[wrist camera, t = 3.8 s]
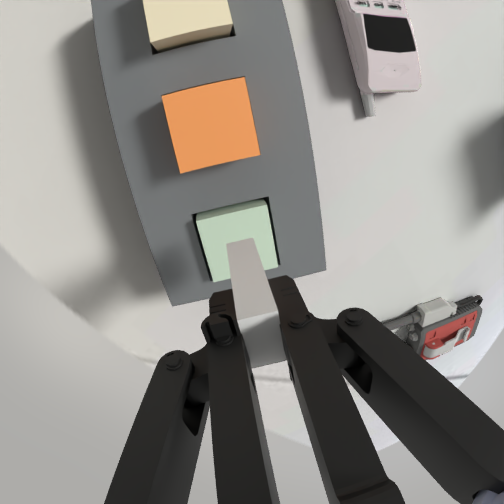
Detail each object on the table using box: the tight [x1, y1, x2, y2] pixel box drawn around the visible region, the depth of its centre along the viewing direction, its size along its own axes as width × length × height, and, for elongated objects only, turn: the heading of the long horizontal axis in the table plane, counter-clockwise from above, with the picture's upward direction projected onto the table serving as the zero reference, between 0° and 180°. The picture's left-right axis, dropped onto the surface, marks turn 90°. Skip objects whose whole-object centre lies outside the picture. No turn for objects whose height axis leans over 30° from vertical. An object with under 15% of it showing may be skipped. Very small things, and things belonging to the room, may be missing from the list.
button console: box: [91, 0, 326, 306], centre depth 19 cm, size 24×12×4 cm, turn 12°
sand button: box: [143, 0, 233, 53], centre depth 14 cm, size 5×5×4 cm
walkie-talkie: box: [383, 295, 483, 360], centre depth 32 cm, size 9×4×20 cm
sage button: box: [196, 198, 278, 282], centre depth 22 cm, size 5×5×4 cm
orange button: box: [162, 77, 260, 174], centre depth 17 cm, size 5×5×4 cm
